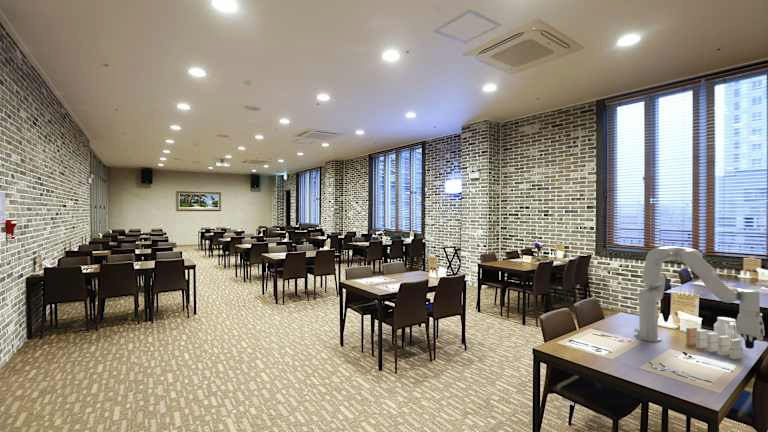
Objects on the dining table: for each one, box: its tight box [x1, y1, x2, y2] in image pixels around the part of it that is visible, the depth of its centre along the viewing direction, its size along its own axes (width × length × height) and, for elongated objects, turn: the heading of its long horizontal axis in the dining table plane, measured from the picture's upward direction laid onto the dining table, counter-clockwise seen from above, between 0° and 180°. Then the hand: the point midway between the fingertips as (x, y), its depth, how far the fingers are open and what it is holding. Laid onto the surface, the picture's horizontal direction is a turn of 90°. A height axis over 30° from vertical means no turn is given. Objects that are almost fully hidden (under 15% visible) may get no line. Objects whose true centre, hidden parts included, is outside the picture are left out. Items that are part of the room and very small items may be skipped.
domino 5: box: [729, 339, 742, 360], centre depth 198 cm, size 2×6×10 cm, turn 106°
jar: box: [713, 316, 737, 336], centre depth 221 cm, size 12×10×15 cm
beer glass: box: [725, 322, 742, 351], centre depth 211 cm, size 7×7×15 cm
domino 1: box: [685, 326, 698, 346], centre depth 219 cm, size 2×6×10 cm, turn 106°
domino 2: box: [696, 329, 708, 349], centre depth 214 cm, size 2×6×10 cm, turn 106°
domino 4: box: [717, 335, 730, 356], centre depth 204 cm, size 2×6×10 cm, turn 106°
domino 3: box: [706, 332, 718, 353], centre depth 209 cm, size 2×6×10 cm, turn 106°
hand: (749, 348), depth 192 cm, fingers closed
